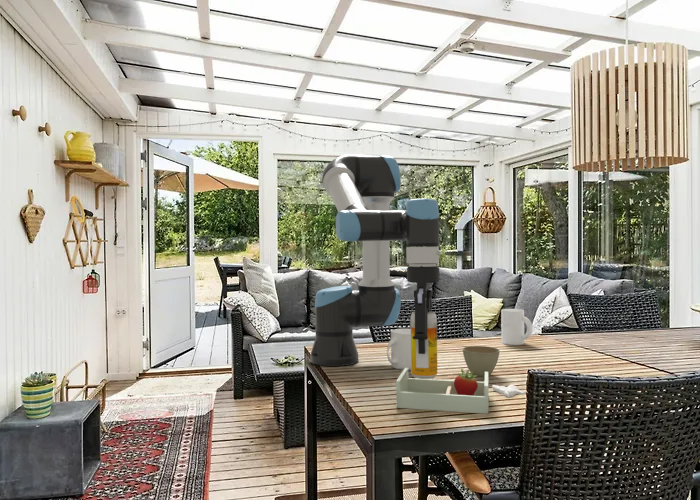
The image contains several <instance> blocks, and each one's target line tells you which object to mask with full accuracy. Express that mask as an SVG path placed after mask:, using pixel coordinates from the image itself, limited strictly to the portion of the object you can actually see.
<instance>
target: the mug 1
mask: <svg viewBox="0 0 700 500" xmlns="http://www.w3.org/2000/svg"><path fill="white" fill-rule="evenodd" d="M389 352H390V355H389ZM386 355H387V361H388V362H389V363H390V364H391V367H392V368H393V369H397V370H402V371H403V370H404V369H405V368H408V371H409V370H410V371H411V328H396V329H391V331H390V340H389V342H388V343H387V348H386Z"/></svg>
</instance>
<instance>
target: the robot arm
mask: <svg viewBox="0 0 700 500" xmlns="http://www.w3.org/2000/svg"><path fill="white" fill-rule="evenodd" d="M321 181H322V186H323V188H324V190H325V192H326V193H328V195H329V196H331V198H332V200H333V203H334V205H335V208H336V210H337V213H336V217H335V234H336V238H337V239H338V240H339V241H342V242H343V241H344V242H352V243H353V242H362V279H361V280H360V281H359V282H358V284H357V289H353V286H352V285H338V286H332V287H327V288H322V289H319V290H318V291H317V292H316V294H315V299H314V300H315V301H314V308H315V310H314V311H315V338H314V341H313V344H312V348H311V352H310V356H309V358H310V359H309V361H310V363H312V364H313V365H316V366H323V367H342V366H343V367H344V366H350V365H353V364H356V363H358V362H359V351H358V348H357V345H356V343H355V339H354V336H353V335H354V334H353V333H354V332H353V328H361V327H364V328H365V327H378V326H379V327H384V326H391V325H394V324H395V323H396V322H397V320H398V318H399V315H400V312H401V305H402V300H401V299H402V298H401V292H400V290H399V289H398V288H396V287H395V283H394V282H393V281H392V280H391V277H390V274H391V269H390V268H391V267H390V262H391V260H390V257H391V255H390V254H391V253H390V251H391V250H390V249H391V248H390V247H391V246H390V245H391V244H390V242H392V241H397V242H398V241H402V242H406V248H405V249H406V257H405V258H406V264H407V265H408V266H407V268H406V281H407V282H408V283H410V284H411V283H414V284H415V283H416V289H415V290H414V291H413V298H414V311H415V334H414V336H413V339H416V368H429V358H428V339H427V338H428V336H427V317H428V312H430V311H432V306H433V300H432V299H433V298H432V297H433V289H432V288H431V289H430V286H431V285H430V283H431V284H432V283H433V284H435V283H438V282H440V267H439V266H438V265H437V264H439V263H440V256H441V255H442V254H443V253H442V251H441V250H439V246H440V229H439V228H440V227H439V226H440V219H439V218H440V212H439V202H438V201H437V200H436V199H434V198H411V199H408V200H407V201H406V205H405V210H390V205H391V202H392V201H393V200H394V199H395V194H396V193H398V192H399V191H400V189H401V182H402V180H401V169H400V166H399V163H398V162H397V160H396V159H395V157H393V156H392V155H391V156H390V155H382V154H343V155H341V156H338V157H336V158H334V159H333V160H331V161H329V163H328V164H327V165H326V167H324V170H323V171H322V177H321ZM422 332H423V333H422Z"/></svg>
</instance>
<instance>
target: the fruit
mask: <svg viewBox="0 0 700 500" xmlns="http://www.w3.org/2000/svg"><path fill="white" fill-rule="evenodd" d="M460 370H461V371H460V372H461V373H459V372H458V373H457V376H456V377H455V378H454V387H455V389H456V392H457V394H458V395H470V396H474V393H475V391H476V390H477V387H478V384H477V382H478V381H477V380H476V377H478V376H477V375H473V374H472V373H473V372H472V371H471V372H470V370H469V369H467V370H466V372H465V371H464V369H463V368H461V369H460Z"/></svg>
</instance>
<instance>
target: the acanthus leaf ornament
mask: <svg viewBox="0 0 700 500" xmlns="http://www.w3.org/2000/svg"><path fill="white" fill-rule="evenodd" d="M492 390H493V392H497V393H499V394H504V396H505V397H507V398H510V397H513V396H516V395H520V394H521V395H527V394H526V391H527V390H523V391H522V390H520V389H519V388H517V386H516V385H514V384H509V385H507V386H504V385H498V384H497V385H495V384H492Z"/></svg>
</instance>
